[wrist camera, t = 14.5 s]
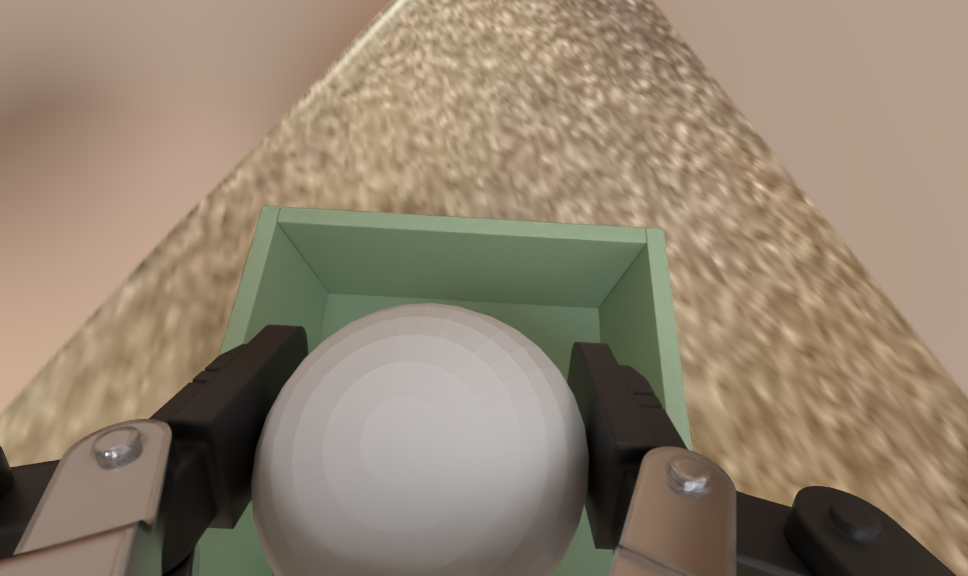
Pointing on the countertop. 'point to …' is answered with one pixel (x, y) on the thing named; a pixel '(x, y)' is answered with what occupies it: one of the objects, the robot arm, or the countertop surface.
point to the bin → (465, 283)
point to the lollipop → (421, 452)
